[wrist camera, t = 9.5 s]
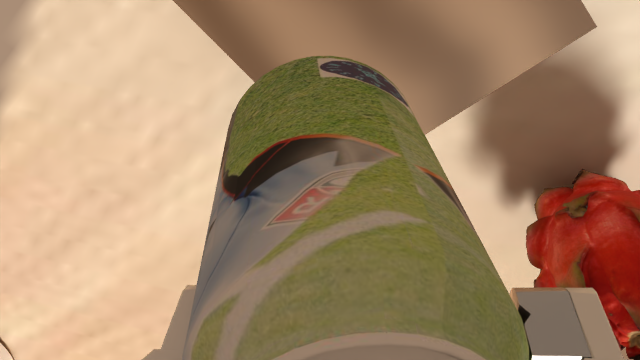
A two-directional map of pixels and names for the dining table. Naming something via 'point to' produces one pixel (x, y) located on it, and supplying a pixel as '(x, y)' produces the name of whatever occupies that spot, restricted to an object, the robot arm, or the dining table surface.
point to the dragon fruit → (592, 248)
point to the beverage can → (341, 233)
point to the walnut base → (400, 41)
